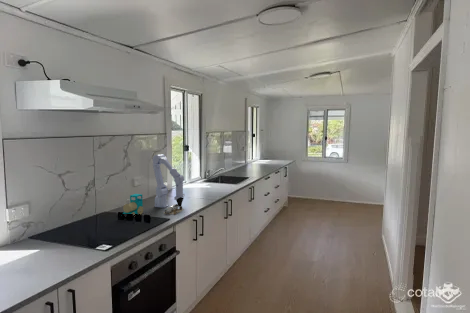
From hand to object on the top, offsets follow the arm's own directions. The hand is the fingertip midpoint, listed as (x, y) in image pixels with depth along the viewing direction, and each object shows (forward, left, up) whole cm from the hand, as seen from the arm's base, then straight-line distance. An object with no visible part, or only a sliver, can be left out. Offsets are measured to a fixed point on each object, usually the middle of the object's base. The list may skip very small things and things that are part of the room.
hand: (179, 206), depth 252 cm
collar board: (0, -10, -2) cm, 10 cm away
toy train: (-25, -29, -2) cm, 38 cm away
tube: (-3, -11, 0) cm, 11 cm away
